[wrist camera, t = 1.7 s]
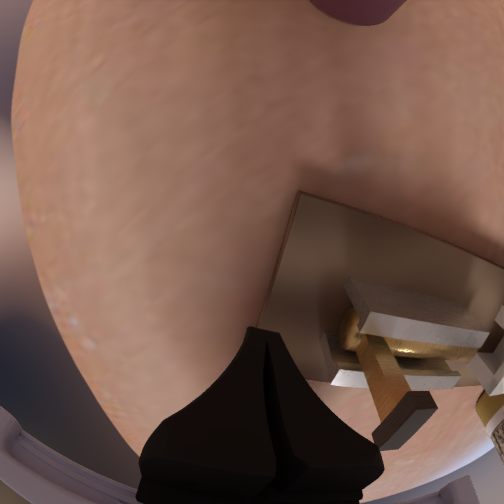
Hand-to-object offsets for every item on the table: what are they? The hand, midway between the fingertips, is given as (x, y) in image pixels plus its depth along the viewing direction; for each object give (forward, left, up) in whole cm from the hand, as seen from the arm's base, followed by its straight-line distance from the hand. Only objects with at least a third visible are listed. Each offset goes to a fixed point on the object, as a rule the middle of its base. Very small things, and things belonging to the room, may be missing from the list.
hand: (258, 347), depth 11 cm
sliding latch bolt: (0, -11, -4) cm, 11 cm away
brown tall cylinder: (-9, -35, -7) cm, 36 cm away
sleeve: (0, -10, -5) cm, 11 cm away
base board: (0, -14, -6) cm, 15 cm away
